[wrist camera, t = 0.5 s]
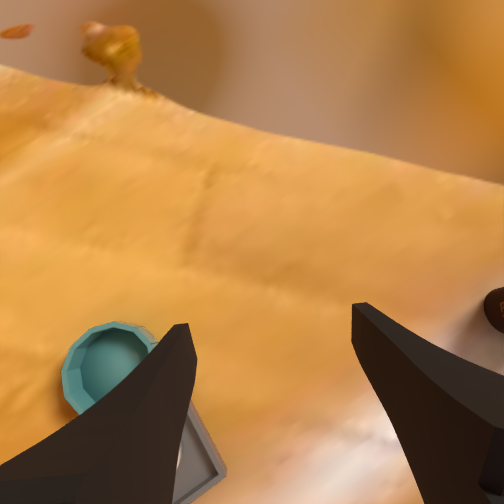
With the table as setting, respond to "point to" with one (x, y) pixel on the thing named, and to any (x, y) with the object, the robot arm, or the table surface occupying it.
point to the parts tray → (196, 461)
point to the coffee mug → (495, 308)
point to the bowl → (103, 361)
